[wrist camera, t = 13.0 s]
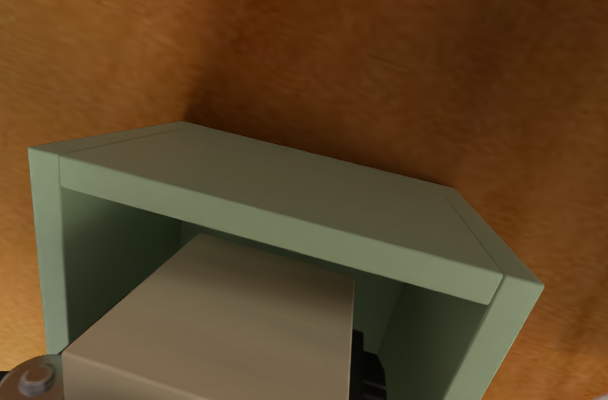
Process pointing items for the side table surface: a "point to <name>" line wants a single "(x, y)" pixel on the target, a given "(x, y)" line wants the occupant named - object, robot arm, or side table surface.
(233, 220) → the chest
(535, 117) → the side table surface
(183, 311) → the block
